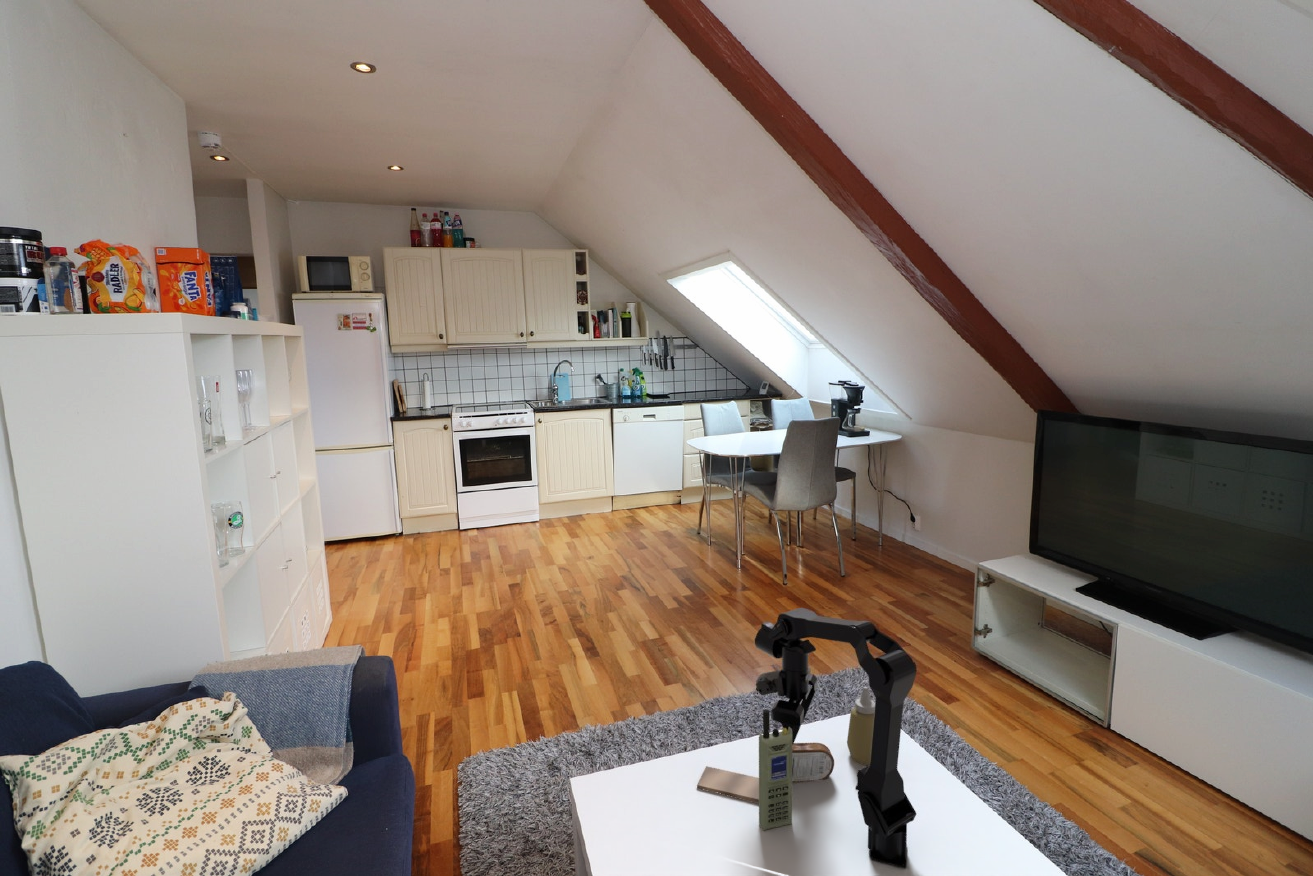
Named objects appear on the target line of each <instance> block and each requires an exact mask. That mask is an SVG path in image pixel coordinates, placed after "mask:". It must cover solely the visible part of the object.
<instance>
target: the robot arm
mask: <svg viewBox="0 0 1313 876" xmlns="http://www.w3.org/2000/svg"><path fill="white" fill-rule="evenodd" d="M806 638H813V639H820V640H821V639H822V640H827V641H833V642H840V643H844V644H845V643H846V644H850V645H851V646H852V648H853V649H854V650H855V651H854V652H855V655H856V658H857V661H858V664H859V666H860V667H861V669H862V670H863V671H864V672H865V673H866V674H867V677H868V685H869V688H870V690H871V692H872V694H873V696H874V697H875V699H874V702H875V712H874V723H873V735H872V747H871V759H870V764H869V765H866V766H864V767H862V768H860V769H859V770H857V772H856V774H857V775H856V779H857V782H856V786H855V791H857V799H858V802H859V805H860V809H861V814H862V817H863V821H864V824H865V825H866V827H867V826H868V827H867V850H870V851H869V858H870V860H872V861H876V862H880V863H884V864H886V865H887V864H888V865H891V866H895V867H899V868H904V869H906V868H907V867H908V863H907V862H908V853H907V852H908V850H907V849H908V846H907V845H908V844H907V843H908V842H907V838H908V837H907V836H908V833H907V832H908V824H910V823H911V822H913V821H914V820H915V818H916V816H917V812H916V810H915V808H914V806H913V805H912V803H911V801H910V799H909V797H908V796H907V794H906V792H905V787H904V785H905V784H904V779H903V777H902V775H901V774H900V772H899V771H898V764H899V755H900V754H899V753H900V745H901V744H900V741H901V732H902V730H901V729H902V721H903V713H904V712H903V710H904V702H905V700H906V698H907V697H908V695H909V693H910V692H911V690H912V688H913V687H914V683H915V680H916V675H917V669H918V668H917V665H916V663H915V662H914V660H913V659H912V657H911V656H910V655H909V654H908V652H906V650H904V649H903V647H902V646H901V645H900V644H899V643H898V642H897V641H896V640H895V639H893V638H891V637H889V636H888V635H886V634H884V633H883V632H881V631H880V630H879V629H878V627H876V625H875V624H874V623H873V622H871V621H868V620H854V619H852V620H851V619H844V618H835V617H827V616H821V615H818V614H816V613H815V611H813V610H810V609H807V608H805V607H798V608H795V609H792V610H789V611H786V612H785V611H784V612H782V613H780V614H778V617H777V620H776V622H775V624H773V623H772V622H770V621H766V622H762V623H761V627H760V629H758V631H757V632H756V636H755V637H754V645H755V647H756V648H757V649H758V650H759V651H761V652H762V653H765V654H767V655H769V656H771V657H773V658H775V659H776V660H777V659H781V670H773V671H768V672H763V673H761V674H760V675H759V676H758V677H757V679H756V681H755V686H756V688H755V691H756V692H758V694H759V695H760V696H766V695H769V694H776V693H777V696H779V697H785V698H786V699H789V700H782V699H778V700H777V701H775V703H774V704H773V706H772V708H771V711H770V714H771V715H770V719H771V720H772V721H775V722H777V723H780V724H781V727H782V729H783V728H786V729H787V730H788V727H790V728H791V729H792V745H793V744H794V743H795V741H796V738H797V736H798V734H799V732H800V729H801V726H802V724H803V723H804V721H805V719H806V716H807V713H808V711H809V708H810V707H811V706H810V705H811V704H812V701H813V699H814V697H815V695H816V692H817V688H818V678H817V677H816V675H815V674H814V673H811V667H809V654H811V653H814V652H816V651H817V648H816V647H815V645H814V644H812V642H810V640H809V639H806ZM803 639H805V640H803ZM868 643H869V644H870V645H871V646H873V647H874V648H876V649H878V650H879V651H880V652H881V651H882V652H883V653H884V654H882V655H879V656H877V657H874V656H873V655H872V654H871V652H870V649H869V646H868Z"/></svg>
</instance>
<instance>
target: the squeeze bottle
mask: <svg viewBox="0 0 1313 876" xmlns="http://www.w3.org/2000/svg"><path fill="white" fill-rule="evenodd" d="M874 712H875V700H872V698H871V695H870V690H869V687H868V686H863V688H862V691H861V695H860V697H859V698H857V699H855V701H854V707H852V709H851V710H850V716H849V722H848V723H849V724H848V732H847V740H846V743H847V748H848V751H849V754H850V757H851V758H852V759H853V761H855V762H857V763H858V764H861V765H866V766H868V765H869V764H870V759H871V747H872V735H873V723H874Z"/></svg>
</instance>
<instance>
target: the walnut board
mask: <svg viewBox="0 0 1313 876" xmlns="http://www.w3.org/2000/svg"><path fill="white" fill-rule="evenodd" d="M698 788H699V789H700V790H702V789H704V790H703V791H706V790H708V791H707V792H711V793H715V792H718V793H717V794H719V793H721V794H720V795H724V796H727V795H728V796H727V797H731V796H732V798H735V797H736V799H739V798H741V799H740V800H743V799H744V801H748V802H751V801H752V803H754V804H755V803H756V804H759V777H757V776H753V775H748V774H744V773H740V772H739V773H738V772H734V771H729V770H726V769H720V768H716V767H712V766H708V765H707V766H705V768H704V770H703V772H702V774H701V776H700V778H699V780H698V782H697V784H696V789H698Z"/></svg>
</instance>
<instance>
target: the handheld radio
mask: <svg viewBox="0 0 1313 876" xmlns="http://www.w3.org/2000/svg"><path fill="white" fill-rule="evenodd" d="M762 729H763V732H761V731H759V733H758V734H759V736H758V778H759V803H758V823H759V827H760V829H761V830H762V831H767V830H769V829H774V828H779V827H784V826H788V825H792V823H793V783H792V729H791V728H790V727H788V730H787V729H786V728H783V727H782V729H781V731H779V730H778V728H773V729H772V732H771V733H770V710H769V709H767V708H765V709H763V710H762Z"/></svg>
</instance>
